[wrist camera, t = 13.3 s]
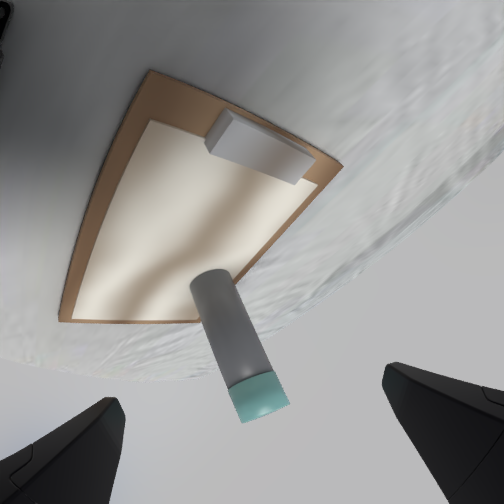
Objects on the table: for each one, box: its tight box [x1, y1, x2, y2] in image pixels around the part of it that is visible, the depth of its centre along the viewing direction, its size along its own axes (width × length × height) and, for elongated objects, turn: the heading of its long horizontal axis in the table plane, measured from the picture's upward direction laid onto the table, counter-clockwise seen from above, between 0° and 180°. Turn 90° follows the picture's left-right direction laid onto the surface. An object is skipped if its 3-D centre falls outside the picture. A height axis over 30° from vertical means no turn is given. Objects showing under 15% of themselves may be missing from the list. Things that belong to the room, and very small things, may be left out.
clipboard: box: [58, 70, 344, 324], centre depth 20 cm, size 14×20×2 cm
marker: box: [190, 269, 290, 423], centre depth 22 cm, size 4×4×11 cm
